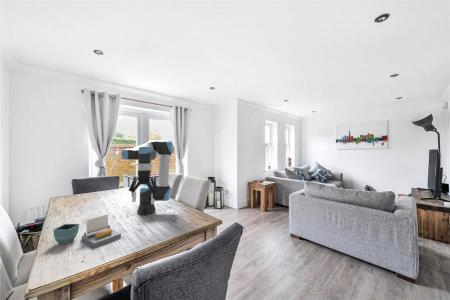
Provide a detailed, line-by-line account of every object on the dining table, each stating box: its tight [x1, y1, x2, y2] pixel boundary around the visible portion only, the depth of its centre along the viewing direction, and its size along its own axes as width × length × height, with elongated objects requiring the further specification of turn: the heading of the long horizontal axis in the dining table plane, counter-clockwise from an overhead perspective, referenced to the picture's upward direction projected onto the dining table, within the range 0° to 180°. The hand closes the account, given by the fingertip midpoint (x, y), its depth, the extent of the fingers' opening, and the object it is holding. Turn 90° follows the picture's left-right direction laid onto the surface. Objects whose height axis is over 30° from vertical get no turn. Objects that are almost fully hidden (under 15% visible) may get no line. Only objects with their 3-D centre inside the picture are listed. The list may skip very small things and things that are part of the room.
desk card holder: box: [81, 224, 122, 249], centre depth 114 cm, size 16×15×5 cm
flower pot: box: [52, 223, 80, 244], centre depth 109 cm, size 9×9×9 cm
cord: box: [95, 228, 112, 238], centre depth 113 cm, size 3×8×3 cm
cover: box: [86, 213, 109, 234], centre depth 117 cm, size 8×12×1 cm
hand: (143, 202), depth 119 cm, fingers open, 13 cm apart
